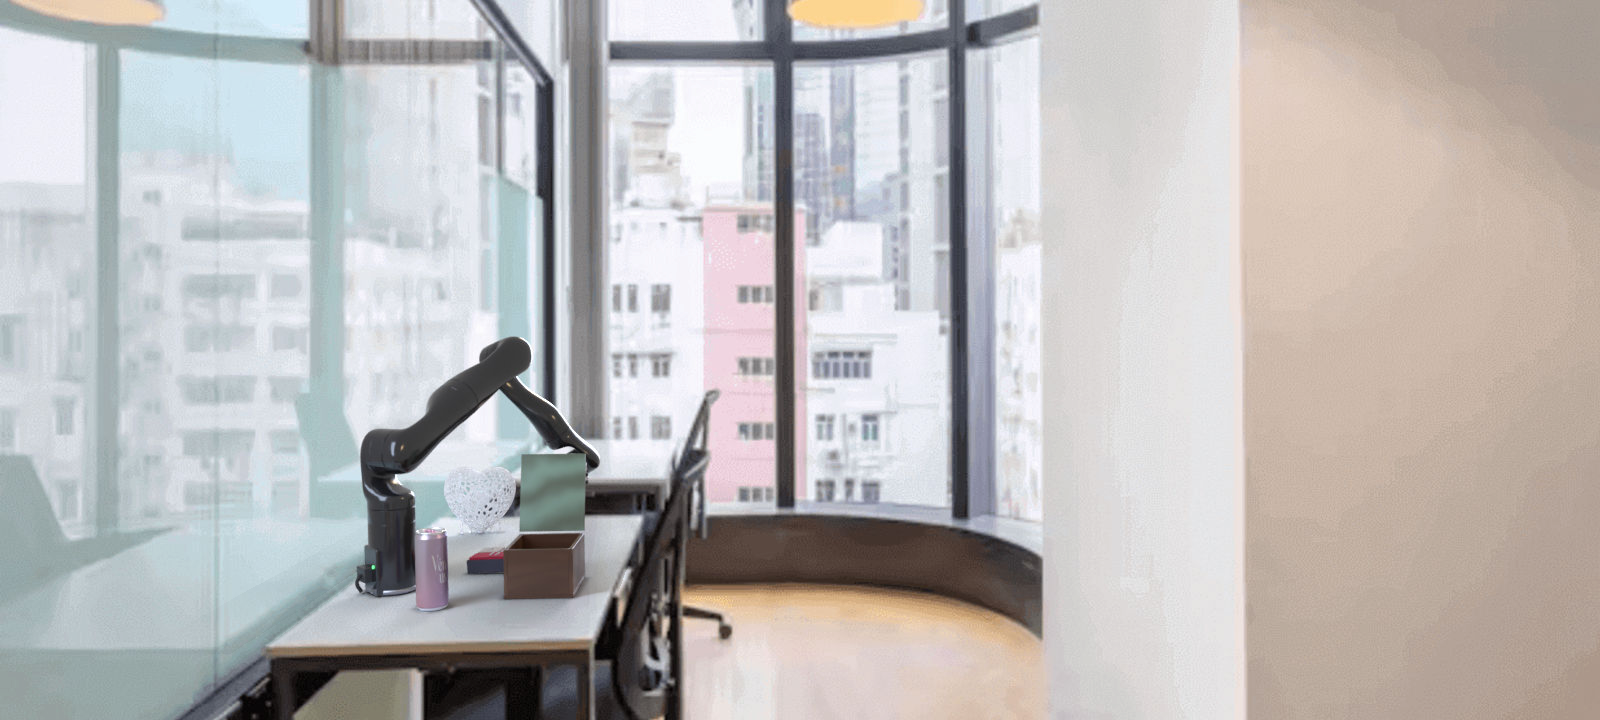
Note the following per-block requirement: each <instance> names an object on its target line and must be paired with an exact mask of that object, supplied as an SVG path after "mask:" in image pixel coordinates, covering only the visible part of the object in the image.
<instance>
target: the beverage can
mask: <svg viewBox="0 0 1600 720" xmlns="http://www.w3.org/2000/svg"><path fill="white" fill-rule="evenodd" d="M415 533H416V535H415V578H416V590H415V607H416V608H417V609H418V610H419V611H422V612H436V611H440V610H444V609H446V608H447V607H448V604H449V603H450V598H449V597H450V596H449V595H450V594H449V591H450V590H449V556H448V555H449V551H448V550H449V547H448V545H449V544H448V543H449V542H448V533H447V529H446V528H443V527H425V528H420V529H416V532H415Z"/></svg>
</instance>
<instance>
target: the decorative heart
mask: <svg viewBox="0 0 1600 720" xmlns="http://www.w3.org/2000/svg"><path fill="white" fill-rule="evenodd" d="M497 476H498V477H497ZM462 483H463V484H462ZM467 488H468V489H469V490H468V489H467ZM504 489H505V490H504ZM516 490H517V485H516V480H515V477H514V475H513V474H512V472H511V471H509V470H508V469H507V468H505V467H502V466H489V467H487V468H484V470H482V471H480V470H477V469H475V468H472V467H467V466H460V467H457V468H455V469H453V470H450V472H449V473H448V474H447V476H446V478H445V480H444V484H443V494H444V499H445V501H446V503H447V506H448V507H449V509H450V510H451V512H452V513H453V515H454V516H455V517H456V518H457V519H458V520H460V521H461V523H460V535H464V525H465V526H467V527H468V534H472V530H473V531H474V532H476V533H477V534H483V533H486V531H487V530H488V529H489V533H491V534H492V533H494V532H493V526H494V525H496V524H497V523H498V533H502V521H501V519H502V518H503V517H504V516H505V514H507V512H508V511H509V510H510V508H511V506H512V504H513V502H514V499H515V497H516ZM465 493H466V494H465ZM494 494H495V495H494ZM491 499H492V501H490V500H491ZM490 509H491V510H490ZM484 513H485V514H484Z"/></svg>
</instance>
